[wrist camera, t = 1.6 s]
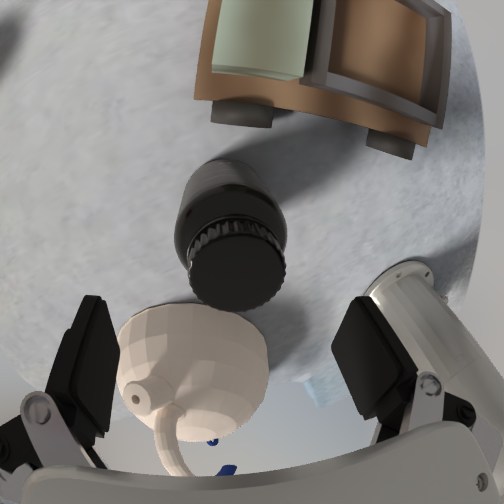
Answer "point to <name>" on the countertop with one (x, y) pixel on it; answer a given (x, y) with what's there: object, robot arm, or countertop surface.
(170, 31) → the countertop surface
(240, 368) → the kettle
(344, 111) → the toy truck
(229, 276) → the supplement bottle
